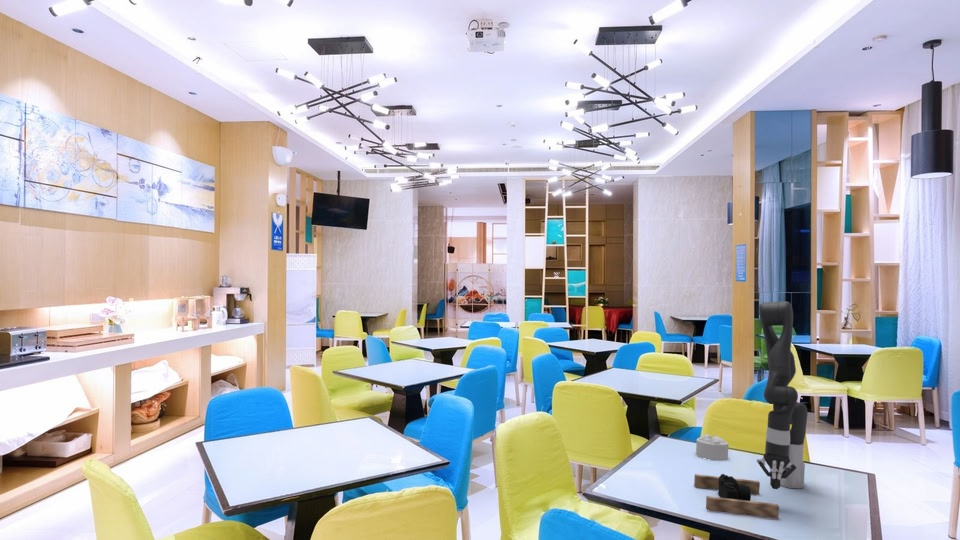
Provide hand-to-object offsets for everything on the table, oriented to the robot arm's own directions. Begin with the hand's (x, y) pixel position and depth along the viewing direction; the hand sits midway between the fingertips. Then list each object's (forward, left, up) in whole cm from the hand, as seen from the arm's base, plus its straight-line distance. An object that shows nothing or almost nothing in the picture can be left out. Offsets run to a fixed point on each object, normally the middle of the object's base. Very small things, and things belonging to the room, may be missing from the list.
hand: (774, 488), depth 189 cm
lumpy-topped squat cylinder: (+11, -47, -7) cm, 49 cm away
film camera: (+13, 0, -7) cm, 15 cm away
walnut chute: (+14, 0, -6) cm, 15 cm away
